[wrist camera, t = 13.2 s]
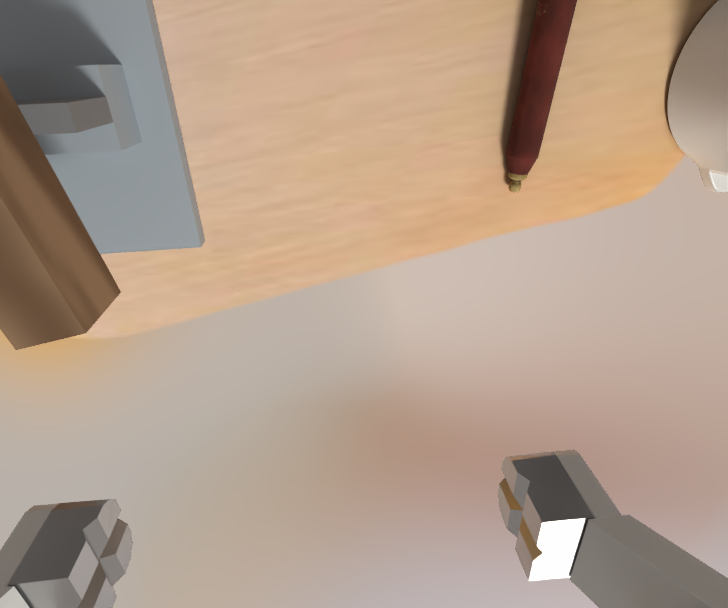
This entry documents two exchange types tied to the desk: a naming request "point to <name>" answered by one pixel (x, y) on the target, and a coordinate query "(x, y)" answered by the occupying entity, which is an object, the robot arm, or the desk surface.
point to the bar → (42, 245)
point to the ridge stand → (104, 117)
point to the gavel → (538, 86)
